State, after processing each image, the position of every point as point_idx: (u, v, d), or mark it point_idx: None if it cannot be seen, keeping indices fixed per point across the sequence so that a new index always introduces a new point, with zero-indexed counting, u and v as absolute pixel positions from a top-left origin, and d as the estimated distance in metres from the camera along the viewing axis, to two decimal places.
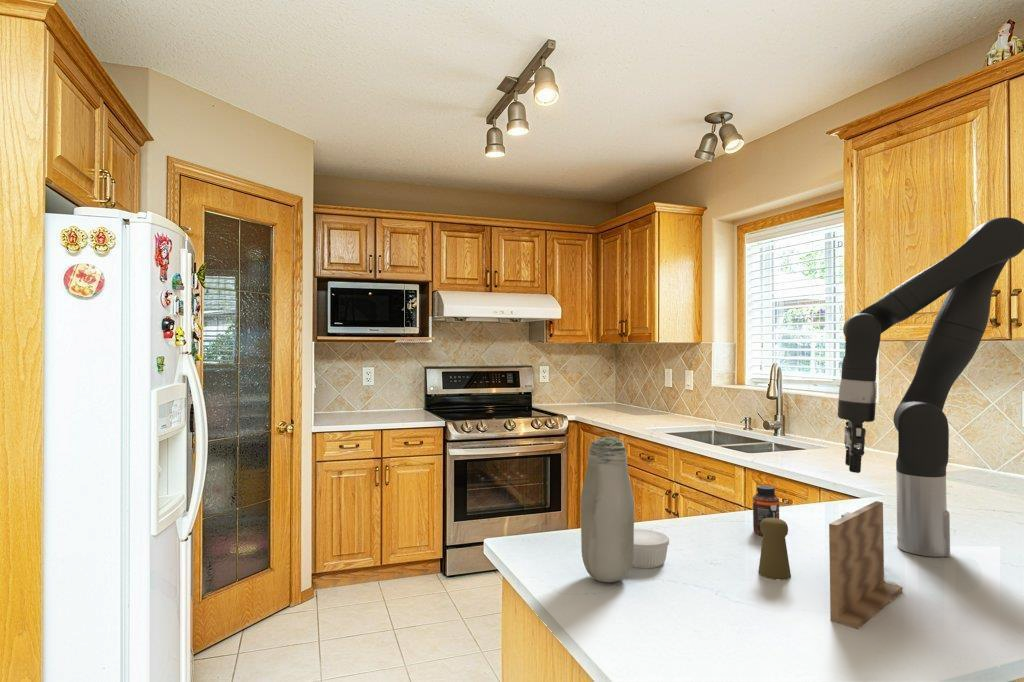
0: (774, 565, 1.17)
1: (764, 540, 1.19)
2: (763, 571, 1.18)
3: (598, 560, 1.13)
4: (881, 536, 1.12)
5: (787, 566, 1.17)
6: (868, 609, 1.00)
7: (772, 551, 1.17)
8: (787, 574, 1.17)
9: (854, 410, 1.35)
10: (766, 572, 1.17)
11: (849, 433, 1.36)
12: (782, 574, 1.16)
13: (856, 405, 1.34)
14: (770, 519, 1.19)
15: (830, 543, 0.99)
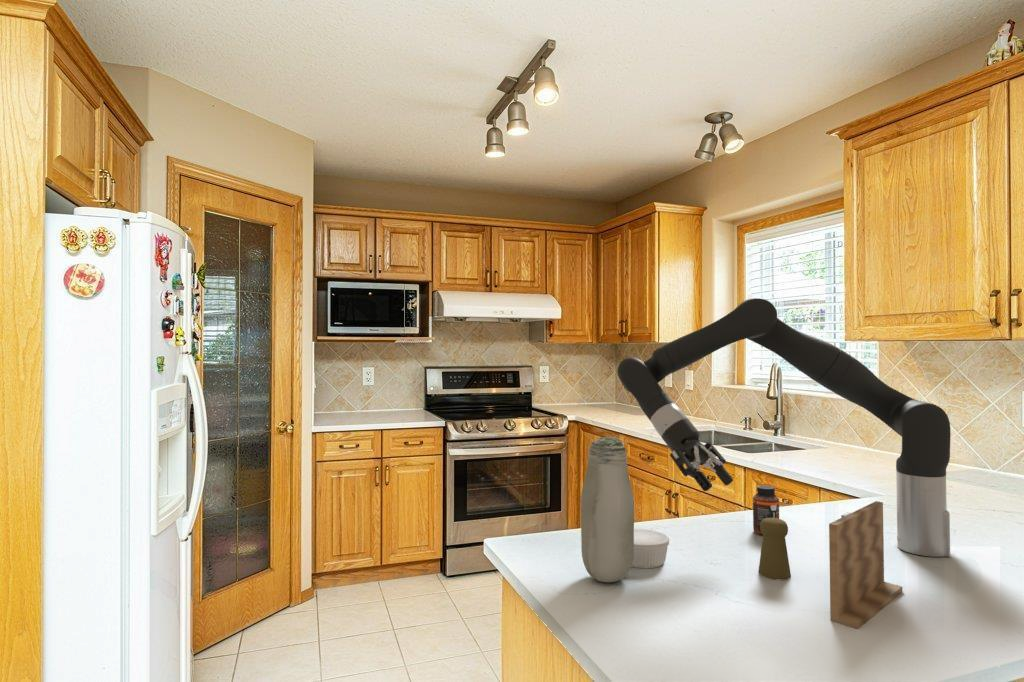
0: (774, 565, 1.17)
1: (764, 540, 1.19)
2: (763, 571, 1.18)
3: (598, 560, 1.13)
4: (881, 536, 1.12)
5: (787, 566, 1.17)
6: (868, 609, 1.00)
7: (772, 551, 1.17)
8: (787, 574, 1.17)
9: (669, 438, 1.34)
10: (766, 572, 1.17)
11: None
12: (782, 574, 1.16)
13: (666, 433, 1.34)
14: (770, 519, 1.19)
15: (830, 543, 0.99)
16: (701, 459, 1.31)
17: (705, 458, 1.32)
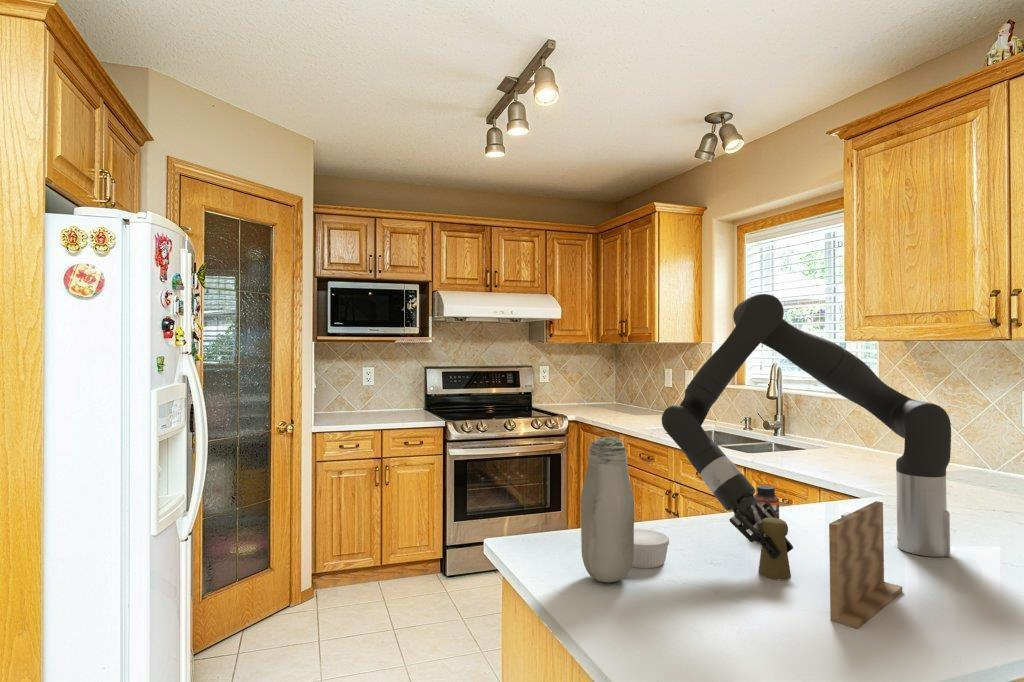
0: (774, 565, 1.17)
1: None
2: (763, 571, 1.18)
3: (598, 560, 1.13)
4: (881, 536, 1.12)
5: (787, 566, 1.17)
6: (868, 609, 1.00)
7: None
8: (787, 574, 1.17)
9: (722, 496, 1.24)
10: (766, 572, 1.17)
11: None
12: (782, 574, 1.16)
13: (719, 491, 1.24)
14: (770, 519, 1.19)
15: (830, 543, 0.99)
16: None
17: (763, 518, 1.22)
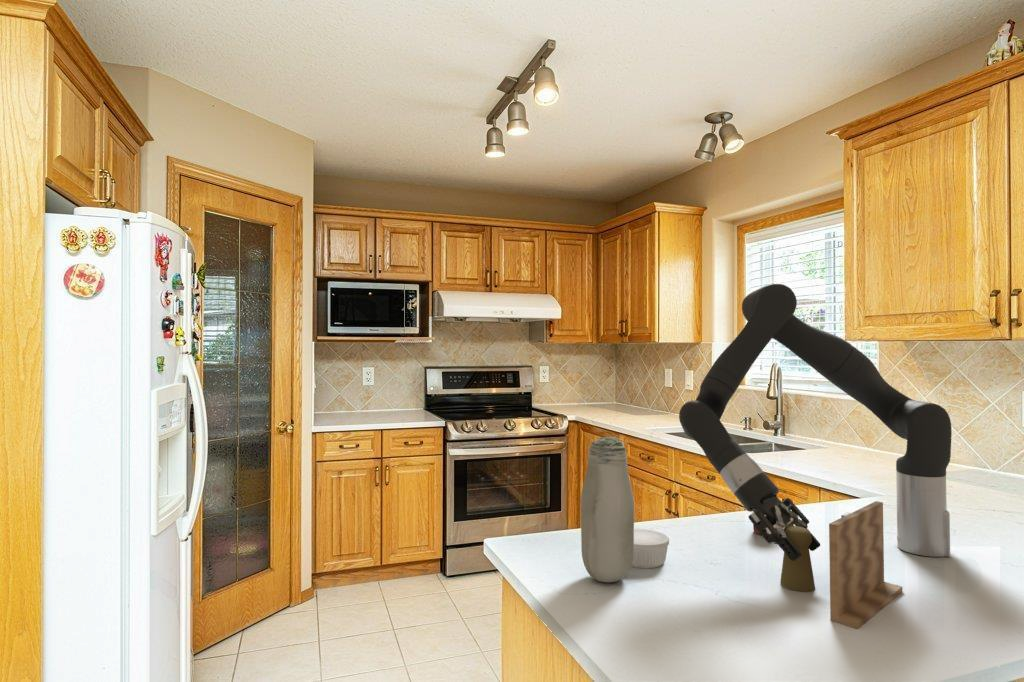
0: (797, 576, 1.11)
1: None
2: (786, 582, 1.12)
3: (598, 560, 1.13)
4: (881, 536, 1.12)
5: (811, 577, 1.11)
6: (868, 609, 1.00)
7: (795, 561, 1.11)
8: (811, 585, 1.11)
9: (744, 496, 1.17)
10: (788, 584, 1.12)
11: None
12: (806, 585, 1.10)
13: (741, 490, 1.18)
14: (792, 527, 1.13)
15: (830, 543, 0.99)
16: (784, 521, 1.14)
17: (787, 519, 1.15)
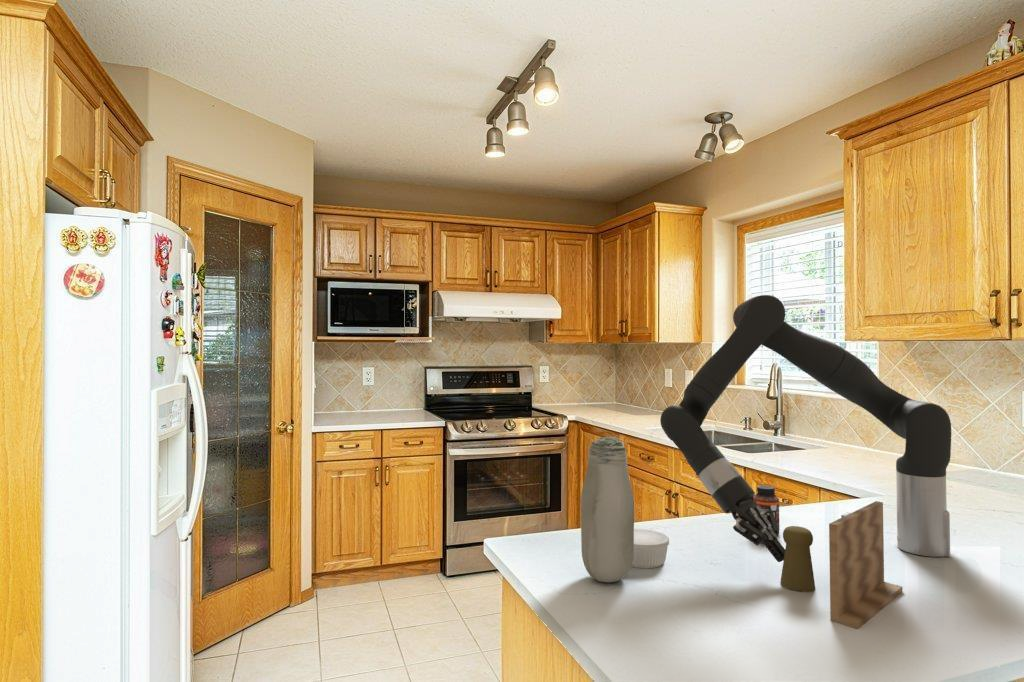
0: (798, 576, 1.11)
1: (787, 550, 1.13)
2: (786, 582, 1.12)
3: (598, 560, 1.13)
4: (881, 536, 1.12)
5: (812, 577, 1.11)
6: (868, 609, 1.00)
7: (796, 561, 1.11)
8: (812, 586, 1.11)
9: (721, 499, 1.21)
10: (789, 584, 1.12)
11: None
12: (806, 585, 1.10)
13: (718, 493, 1.22)
14: (794, 528, 1.13)
15: (830, 543, 0.99)
16: None
17: (762, 521, 1.19)
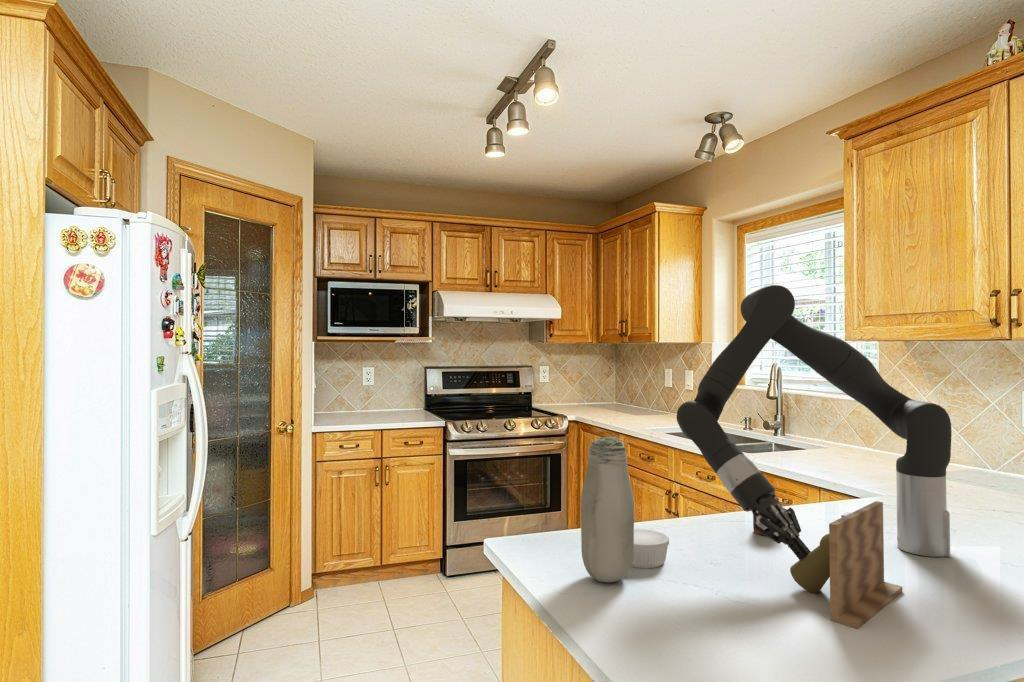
0: (813, 580, 1.08)
1: (818, 554, 1.08)
2: (798, 577, 1.10)
3: (598, 560, 1.13)
4: (881, 536, 1.12)
5: (824, 583, 1.09)
6: (868, 609, 1.00)
7: (821, 568, 1.07)
8: (819, 589, 1.10)
9: (740, 496, 1.18)
10: (800, 580, 1.10)
11: None
12: (815, 589, 1.09)
13: (737, 490, 1.18)
14: None
15: (830, 543, 0.99)
16: None
17: (784, 519, 1.15)
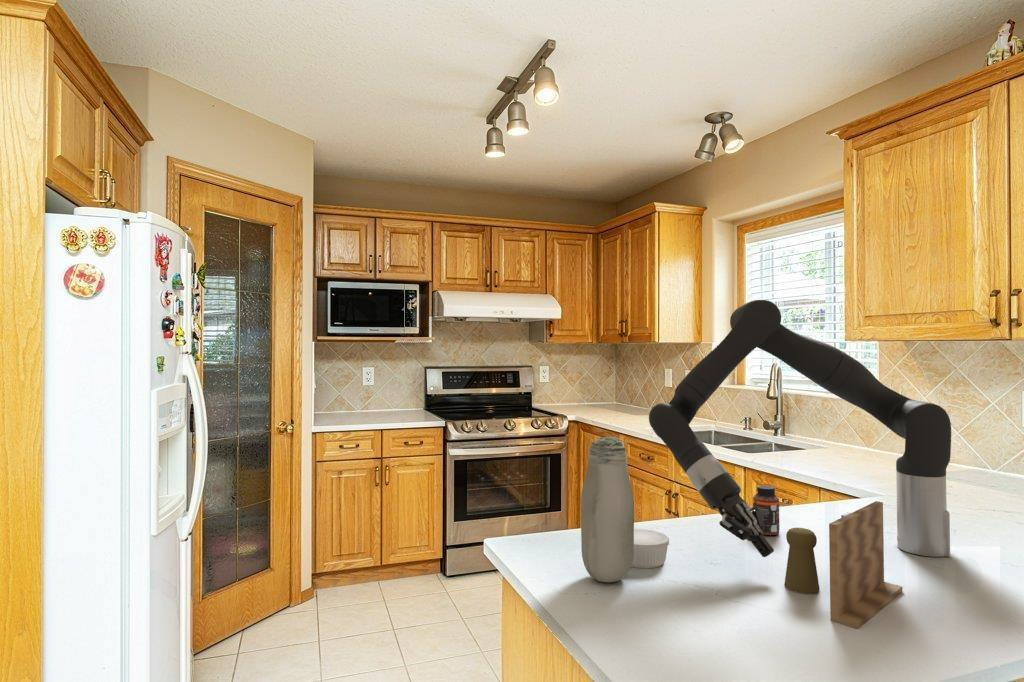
0: (803, 579, 1.10)
1: (791, 552, 1.12)
2: (791, 585, 1.11)
3: (598, 560, 1.13)
4: (881, 536, 1.12)
5: (816, 579, 1.10)
6: (868, 609, 1.00)
7: (801, 563, 1.10)
8: (816, 587, 1.10)
9: (708, 495, 1.23)
10: (794, 586, 1.10)
11: None
12: (812, 587, 1.09)
13: (705, 489, 1.24)
14: (797, 529, 1.12)
15: (830, 543, 0.99)
16: None
17: (748, 517, 1.21)
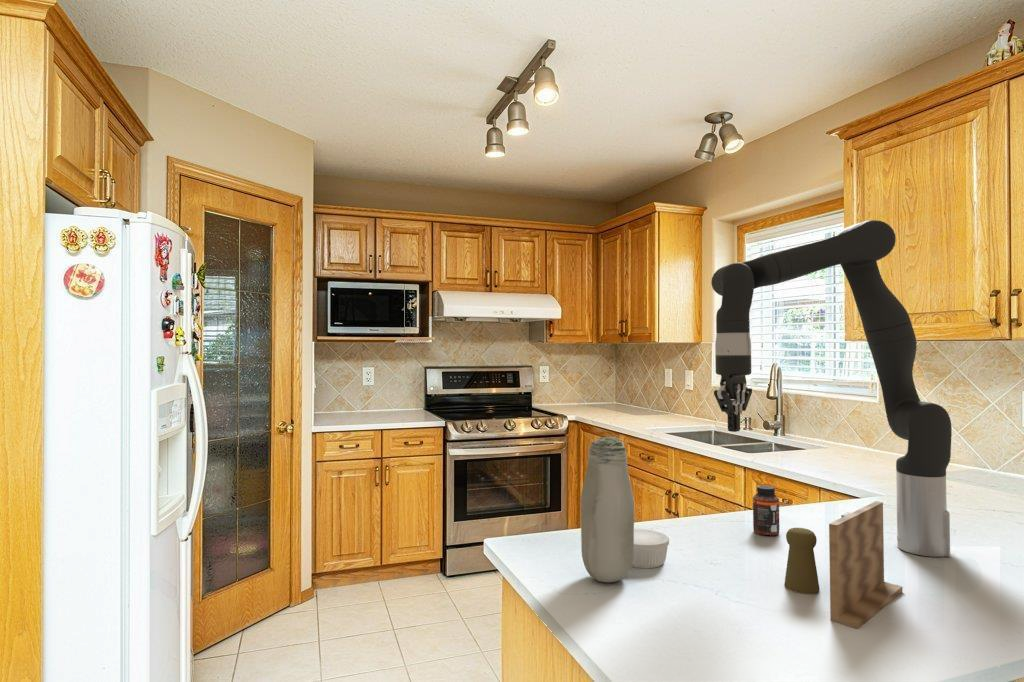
0: (803, 578, 1.10)
1: (791, 552, 1.12)
2: (791, 585, 1.11)
3: (598, 560, 1.13)
4: (881, 536, 1.12)
5: (816, 579, 1.10)
6: (868, 609, 1.00)
7: (801, 563, 1.10)
8: (816, 587, 1.10)
9: (721, 364, 1.30)
10: (794, 586, 1.10)
11: None
12: (811, 587, 1.09)
13: (722, 358, 1.30)
14: (797, 529, 1.12)
15: (830, 543, 0.99)
16: None
17: None
